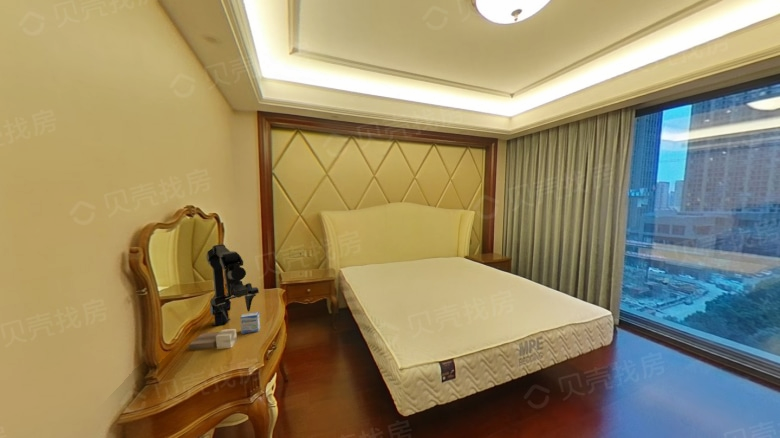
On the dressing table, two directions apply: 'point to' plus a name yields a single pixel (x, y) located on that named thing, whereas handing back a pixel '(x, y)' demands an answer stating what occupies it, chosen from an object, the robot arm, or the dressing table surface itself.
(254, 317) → the medicine box
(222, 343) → the maple cube
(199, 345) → the walnut block
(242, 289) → the robot arm
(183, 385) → the dressing table surface
